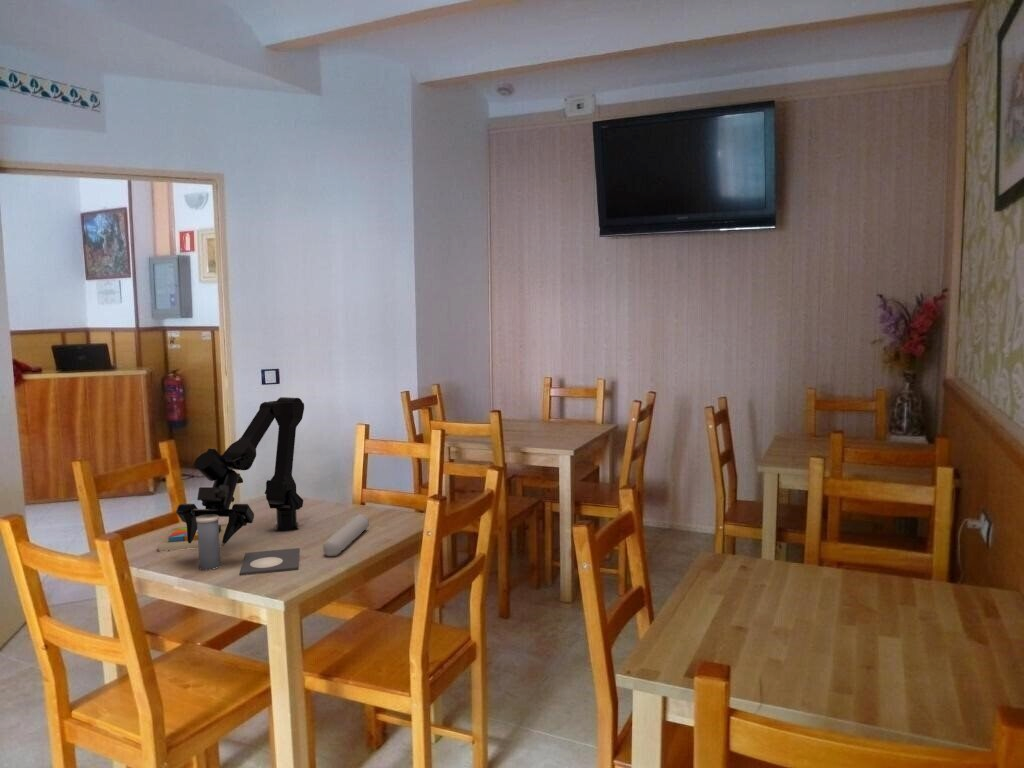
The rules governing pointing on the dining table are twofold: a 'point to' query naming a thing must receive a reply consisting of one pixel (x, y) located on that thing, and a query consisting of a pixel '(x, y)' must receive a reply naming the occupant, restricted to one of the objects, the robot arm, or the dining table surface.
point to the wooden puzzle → (185, 539)
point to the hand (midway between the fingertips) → (206, 542)
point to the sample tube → (208, 541)
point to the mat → (270, 561)
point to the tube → (345, 535)
